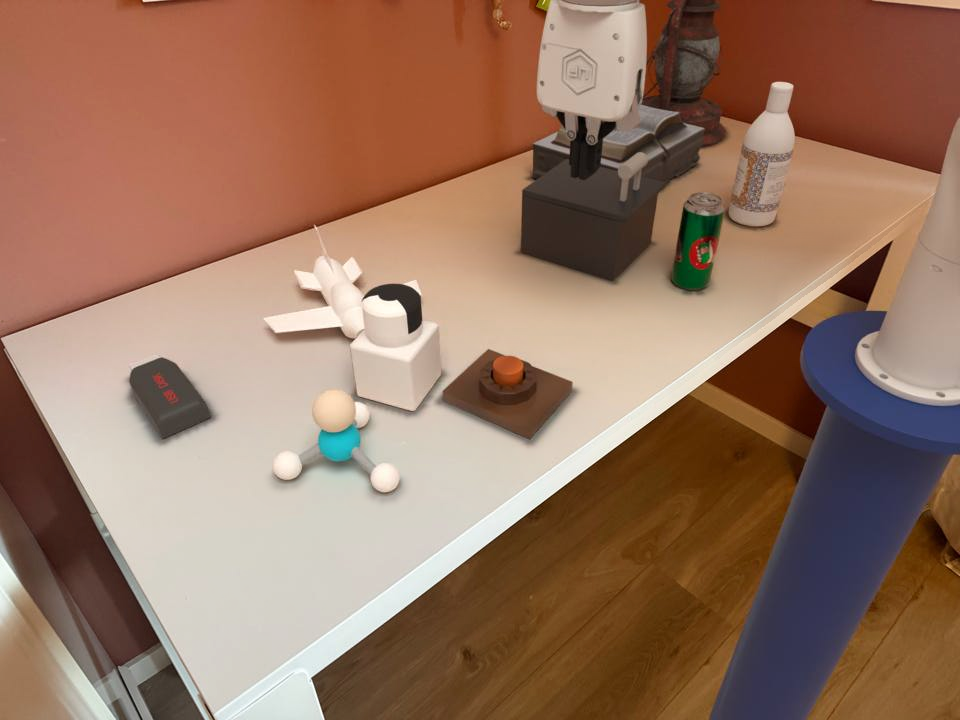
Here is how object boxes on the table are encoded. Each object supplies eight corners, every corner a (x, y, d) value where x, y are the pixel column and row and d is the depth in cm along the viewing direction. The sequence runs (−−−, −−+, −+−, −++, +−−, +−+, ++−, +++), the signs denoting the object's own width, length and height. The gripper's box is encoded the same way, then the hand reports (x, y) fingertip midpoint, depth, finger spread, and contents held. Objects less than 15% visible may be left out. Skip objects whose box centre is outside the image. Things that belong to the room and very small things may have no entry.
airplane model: (282, 372, 82) (269, 318, 77) (249, 290, 96) (236, 240, 91) (443, 328, 88) (441, 275, 84) (390, 256, 102) (385, 208, 98)
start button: (528, 374, 77) (529, 361, 76) (512, 390, 75) (513, 377, 74) (503, 364, 78) (503, 351, 77) (487, 380, 76) (487, 367, 75)
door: (664, 187, 99) (671, 146, 95) (625, 223, 91) (631, 180, 87) (566, 163, 106) (568, 124, 102) (521, 195, 97) (522, 153, 94)
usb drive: (162, 439, 73) (154, 420, 72) (125, 382, 81) (117, 362, 79) (211, 417, 76) (205, 398, 74) (171, 363, 83) (164, 345, 82)
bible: (720, 172, 124) (732, 115, 118) (609, 217, 111) (616, 156, 105) (622, 134, 139) (628, 82, 133) (514, 169, 126) (515, 113, 120)
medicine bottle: (387, 359, 83) (376, 270, 76) (442, 374, 81) (437, 283, 74) (356, 397, 78) (341, 305, 71) (414, 413, 76) (405, 320, 69)
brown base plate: (572, 391, 79) (573, 370, 77) (530, 439, 73) (530, 417, 71) (488, 358, 83) (488, 337, 82) (442, 400, 78) (441, 379, 76)
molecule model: (270, 508, 66) (250, 439, 61) (285, 421, 75) (269, 355, 70) (401, 497, 67) (392, 428, 61) (399, 412, 76) (392, 346, 71)
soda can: (675, 269, 99) (690, 187, 91) (712, 277, 97) (730, 194, 89) (666, 287, 95) (680, 203, 88) (704, 295, 93) (722, 211, 86)
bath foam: (722, 207, 113) (750, 77, 101) (767, 207, 113) (800, 77, 101) (733, 228, 108) (763, 92, 96) (780, 228, 108) (816, 92, 95)
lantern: (650, 107, 150) (671, -56, 132) (739, 125, 142) (775, -48, 123) (608, 135, 138) (625, -41, 120) (702, 156, 130) (737, -30, 111)
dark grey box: (650, 243, 105) (659, 186, 99) (613, 281, 96) (620, 222, 91) (562, 218, 111) (566, 164, 106) (520, 252, 103) (521, 195, 97)
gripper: (509, -15, 67) (507, 170, 78) (657, 4, 60) (631, 204, 72) (550, -28, 72) (542, 149, 83) (692, -12, 65) (662, 178, 76)
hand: (583, 174), depth 77 cm, fingers closed
